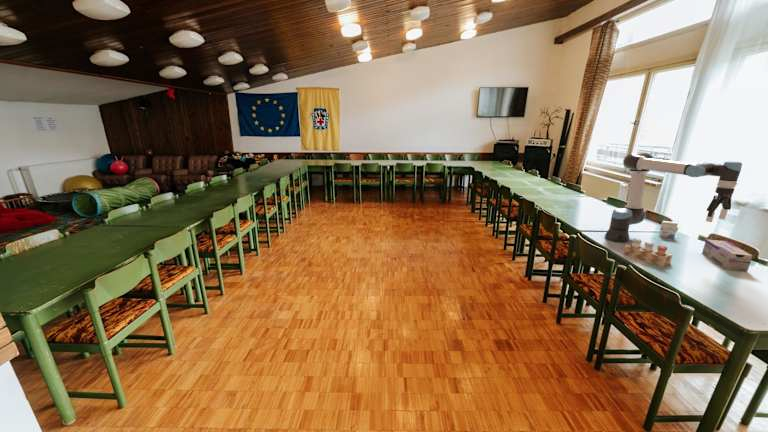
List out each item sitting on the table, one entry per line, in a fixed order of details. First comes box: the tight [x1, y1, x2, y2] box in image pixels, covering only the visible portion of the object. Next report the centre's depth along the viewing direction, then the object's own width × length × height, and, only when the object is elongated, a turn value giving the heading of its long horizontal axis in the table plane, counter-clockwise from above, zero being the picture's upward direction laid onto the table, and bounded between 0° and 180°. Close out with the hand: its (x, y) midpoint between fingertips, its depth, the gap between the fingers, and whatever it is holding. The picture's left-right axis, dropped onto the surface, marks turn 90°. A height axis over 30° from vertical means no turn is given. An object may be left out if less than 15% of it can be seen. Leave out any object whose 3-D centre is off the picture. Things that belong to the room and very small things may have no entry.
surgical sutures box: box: [701, 239, 754, 273], centre depth 198 cm, size 25×11×11 cm, turn 158°
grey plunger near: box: [631, 238, 642, 249], centre depth 210 cm, size 5×5×8 cm
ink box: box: [658, 220, 679, 239], centre depth 243 cm, size 9×5×12 cm, turn 58°
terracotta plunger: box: [657, 245, 668, 256], centre depth 198 cm, size 5×5×8 cm
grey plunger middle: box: [644, 241, 655, 252], centre depth 204 cm, size 5×5×8 cm
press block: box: [622, 242, 673, 268], centre depth 205 cm, size 22×10×6 cm, turn 27°
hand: (715, 220), depth 197 cm, fingers open, 13 cm apart
